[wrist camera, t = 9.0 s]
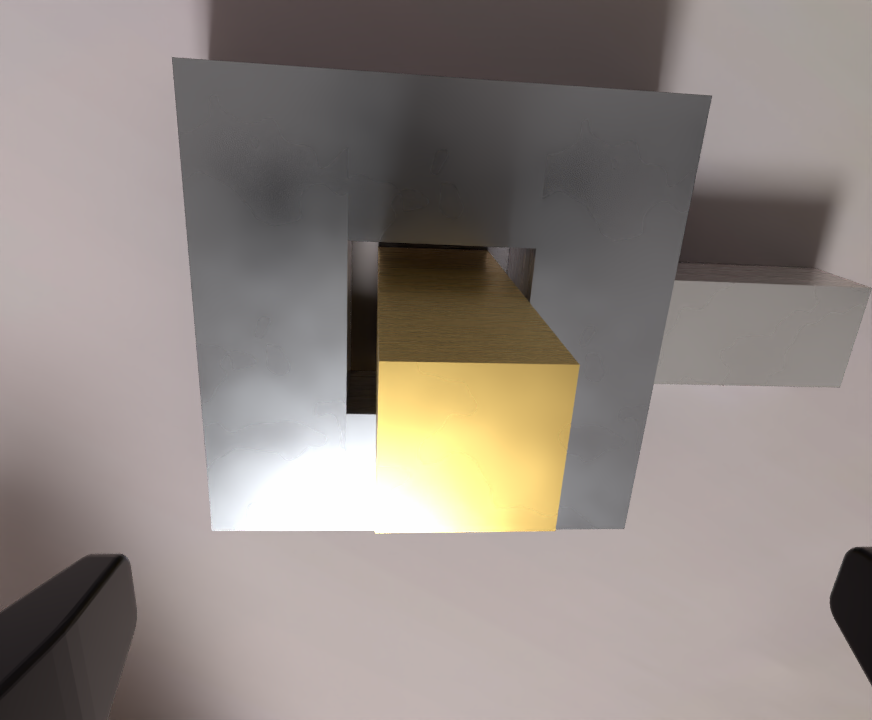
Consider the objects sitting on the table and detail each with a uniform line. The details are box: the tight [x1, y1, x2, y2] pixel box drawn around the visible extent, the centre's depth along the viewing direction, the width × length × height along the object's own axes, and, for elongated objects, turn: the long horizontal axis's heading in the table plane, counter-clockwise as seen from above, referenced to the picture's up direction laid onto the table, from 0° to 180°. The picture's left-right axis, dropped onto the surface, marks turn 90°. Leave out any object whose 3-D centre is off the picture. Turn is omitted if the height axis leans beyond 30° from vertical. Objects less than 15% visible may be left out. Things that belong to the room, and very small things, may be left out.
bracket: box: [172, 57, 872, 531], centre depth 18 cm, size 18×12×3 cm, turn 87°
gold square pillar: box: [375, 247, 580, 533], centre depth 15 cm, size 3×3×9 cm
